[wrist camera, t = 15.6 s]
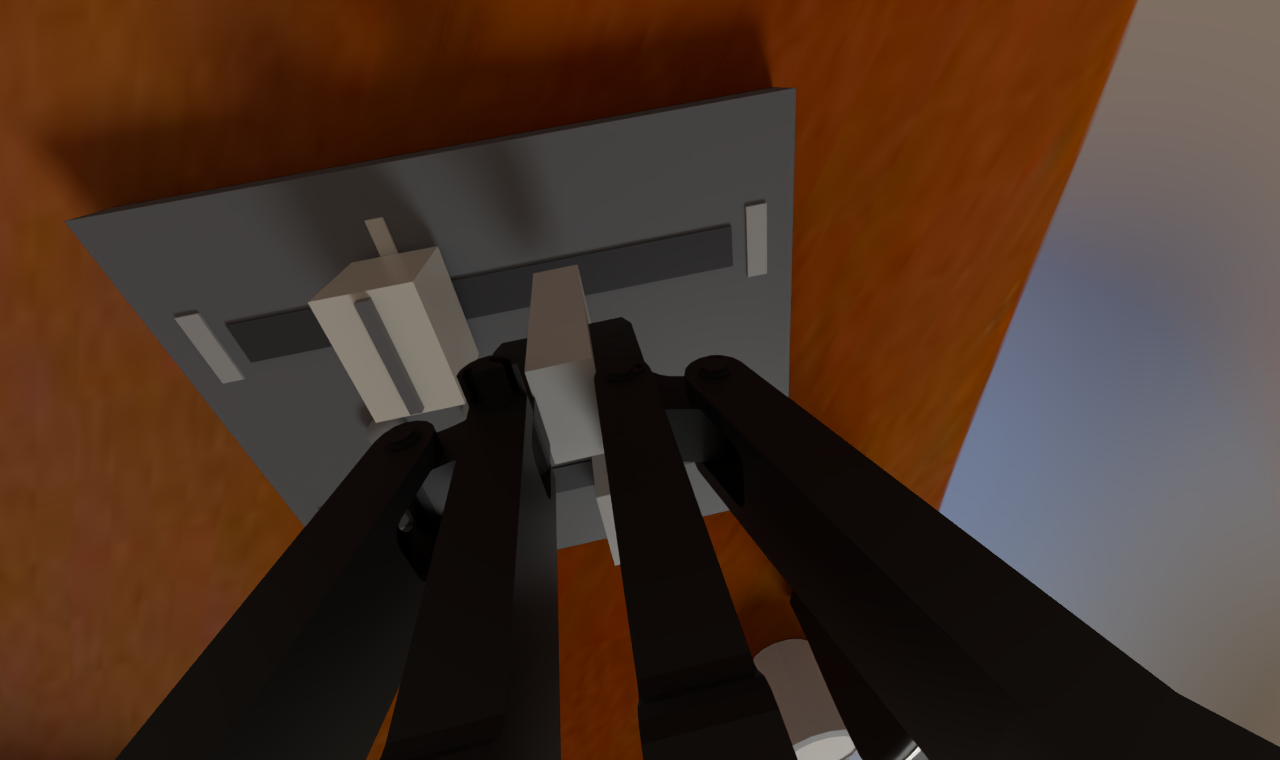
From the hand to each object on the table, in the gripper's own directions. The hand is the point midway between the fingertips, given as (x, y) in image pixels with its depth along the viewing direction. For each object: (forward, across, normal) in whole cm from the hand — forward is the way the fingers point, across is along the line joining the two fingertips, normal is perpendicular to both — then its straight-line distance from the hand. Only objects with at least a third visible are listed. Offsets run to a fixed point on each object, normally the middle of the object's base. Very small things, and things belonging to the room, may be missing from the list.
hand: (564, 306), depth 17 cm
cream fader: (+2, -5, 0) cm, 6 cm away
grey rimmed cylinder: (+5, +10, -37) cm, 39 cm away
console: (+5, -3, -5) cm, 7 cm away
